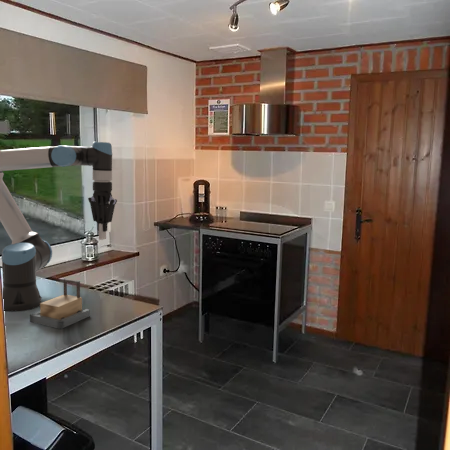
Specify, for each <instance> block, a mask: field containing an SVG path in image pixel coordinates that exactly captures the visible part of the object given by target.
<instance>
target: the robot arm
mask: <svg viewBox="0 0 450 450" xmlns="http://www.w3.org/2000/svg"><path fill="white" fill-rule="evenodd" d="M112 145H113V144H111V143H110V142H106V141H93V142H92V145H91V146H82V145H81V146H77V145H66V144H61V145H56V146H54V145H53V146H39V147H26V148H25V147H24V148H13V149H0V223H1V225H2V226H3V228H4V230H5V231H6V233H7V235H8V237H9V238H10V240H11V244H8V245H6V246H4V247H3V248H2V251H1V266H2V267H1V268H2V289H3V299H4V309H5V312H25V311H30V310H32V309H35V308H38V307H40V303H42V297H41V294H40V291H39V288H38V286H37V272H38V271H39V270H41V269H43V268H45V267H46V266H48V264H49V263H50V261H52V257H53V248H52V246H51V244H50V243H49V242H48V241H47V240H44V239H42V237H41V236H40V233H38V232H36V231H33V230H32V228H31V226H30V225H29V222H28V221H27V219H26V218H25V216H24V214H23V213H22V211H21V209H20V207H19V205H18V204H17V202H16V200H15V199H14V197H13V196H12V193H11V191H10V190H9V188H8V187H7V185H6V183H5V182H4V180H3V177H4V175H5V173H4V172H5V171H15V170H16V171H18V170H31V169H32V170H33V169H43V168H58V167H59V168H60V167H72V166H74V167H75V166H88V167H92V180H93V182H92V191H93V193H92V196H91V197H87V200H88V202H89V205H90V210H91V215H92V219H93V220H92V221H93V222H96V224H97V231H98V240H101V241H103V240H106V239H107V232H108V224H109V223H112V221H113V216H114V212H115V207H116V204H117V202H118V199H116V198H113V195H112V191H113V182H112V181H113V148H112Z"/></svg>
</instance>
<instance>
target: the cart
mask: <svg viewBox="0 0 450 450" xmlns="http://www.w3.org/2000/svg"><path fill="white" fill-rule="evenodd" d="M68 283H70V284H76V295H71V294H68ZM39 308H40V309H39V311H40V315H42V316H46V317H50V318H54V319H59V320H61V319H64V318H66V317H69V316H71V315H73V314H76V313H78V312H81V311H83V298H82V297H81V281H80V280H74V279H69V278H68V279H67V278H64V279H63V294H62V295H58V296H56V297H53V298H51V299H47V300H45V301H41V303H40V306H39Z"/></svg>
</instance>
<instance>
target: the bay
mask: <svg viewBox="0 0 450 450" xmlns="http://www.w3.org/2000/svg"><path fill="white" fill-rule="evenodd" d="M90 316H91V310H90V309H88V308H86V309H82V311H81V312H78V313H76V314H73V315H71V316H69V317H66V318H64V319H61V320H59V319H54V318H50V317H46V316H42V315H40V310H38V311H36V312H34V313H31V314H29V322H30V323H35V324H39V325H43V326H46V327H50V328H55V329H58V330H62V329H64V328H67V327H69V326H71V325H73V324H75V323H78V322H79V321H82V320H85V319H87V318H89V317H90Z"/></svg>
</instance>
